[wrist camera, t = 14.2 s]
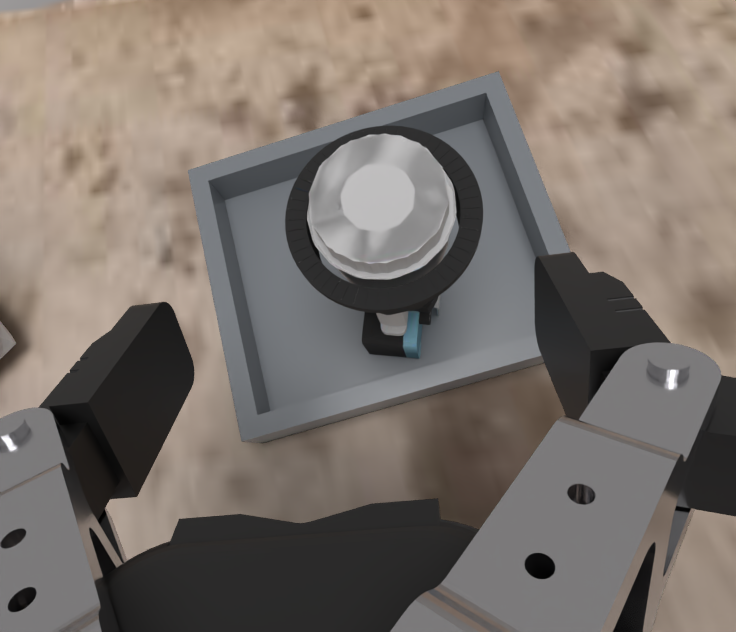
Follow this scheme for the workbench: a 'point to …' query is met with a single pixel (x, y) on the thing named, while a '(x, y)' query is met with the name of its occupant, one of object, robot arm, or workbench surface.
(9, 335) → the construction material bag
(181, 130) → the workbench surface
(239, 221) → the tray
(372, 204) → the push button
